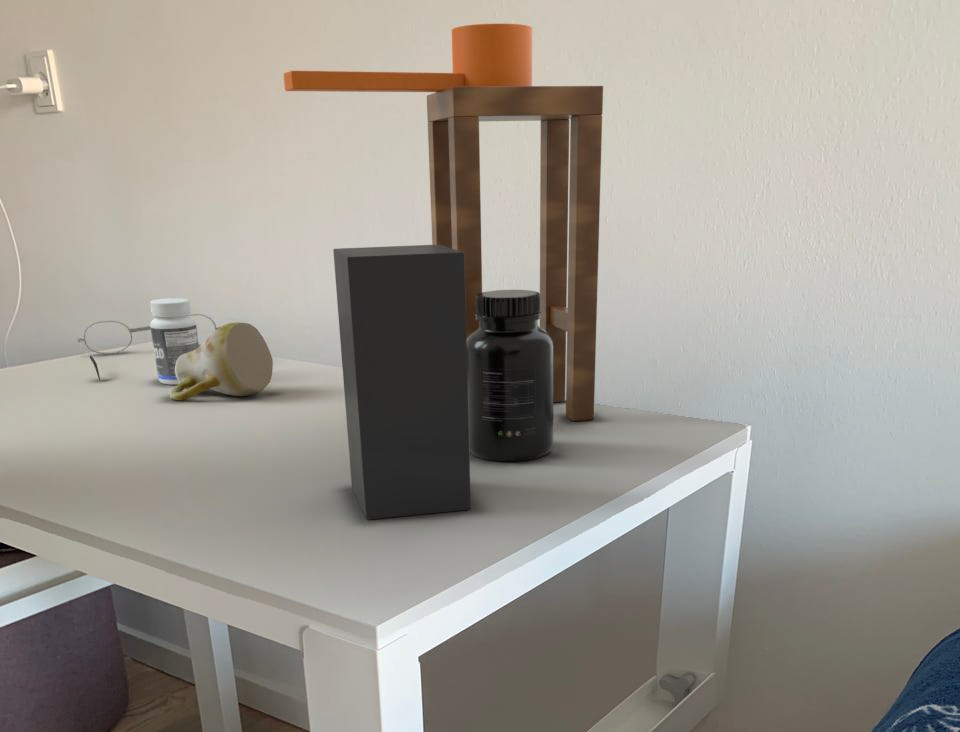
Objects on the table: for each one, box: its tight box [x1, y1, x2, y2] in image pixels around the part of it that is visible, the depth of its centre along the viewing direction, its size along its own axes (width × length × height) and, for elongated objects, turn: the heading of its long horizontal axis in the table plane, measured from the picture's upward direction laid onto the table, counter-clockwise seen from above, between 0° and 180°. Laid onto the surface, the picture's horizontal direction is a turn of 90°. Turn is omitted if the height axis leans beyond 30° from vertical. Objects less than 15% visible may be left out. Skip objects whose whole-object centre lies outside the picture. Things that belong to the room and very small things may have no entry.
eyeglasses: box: [76, 313, 220, 381], centre depth 120 cm, size 18×19×4 cm
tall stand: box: [426, 85, 604, 422], centre depth 86 cm, size 12×10×26 cm
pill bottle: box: [149, 297, 200, 386], centre depth 107 cm, size 5×5×8 cm
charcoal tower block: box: [333, 244, 472, 521], centre depth 65 cm, size 7×7×16 cm
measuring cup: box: [283, 23, 533, 93], centre depth 78 cm, size 20×6×4 cm, turn 115°
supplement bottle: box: [466, 289, 554, 462], centre depth 77 cm, size 7×7×12 cm
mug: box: [169, 321, 274, 401], centre depth 101 cm, size 8×10×10 cm
